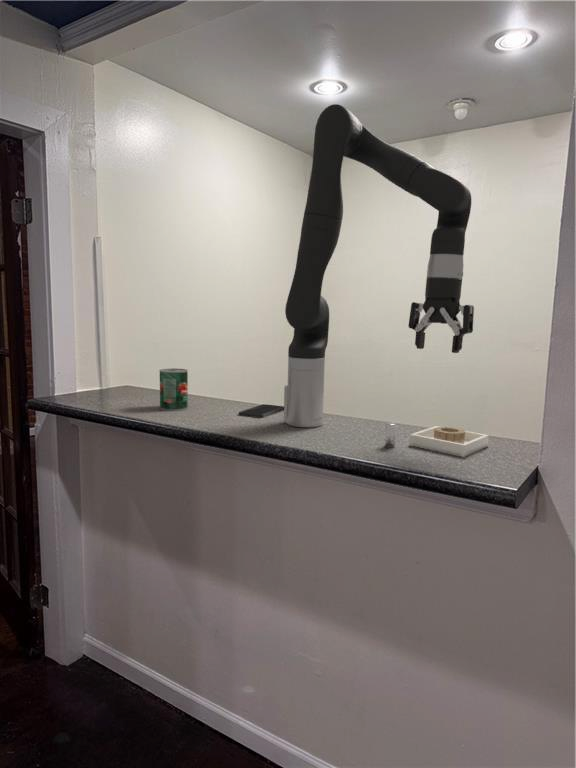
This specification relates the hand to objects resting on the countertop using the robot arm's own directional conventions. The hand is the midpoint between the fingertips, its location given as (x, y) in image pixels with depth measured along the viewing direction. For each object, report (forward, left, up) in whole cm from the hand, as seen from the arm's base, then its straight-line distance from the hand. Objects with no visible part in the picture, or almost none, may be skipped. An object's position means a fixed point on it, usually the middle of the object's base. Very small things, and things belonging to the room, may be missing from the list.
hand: (437, 350), depth 120 cm
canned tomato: (-70, -20, -21) cm, 76 cm away
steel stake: (-4, -11, -21) cm, 24 cm away
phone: (-49, -5, -21) cm, 54 cm away
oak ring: (+4, -1, -20) cm, 21 cm away
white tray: (+5, -1, -21) cm, 21 cm away
